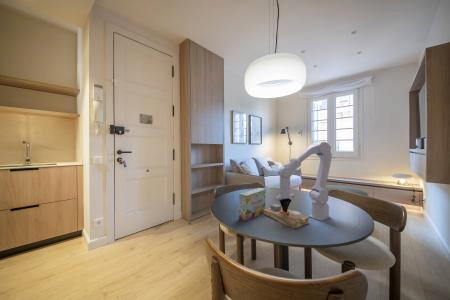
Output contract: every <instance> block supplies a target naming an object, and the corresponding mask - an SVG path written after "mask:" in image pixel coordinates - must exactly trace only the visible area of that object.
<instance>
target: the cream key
mask: <svg viewBox="0 0 450 300" xmlns="http://www.w3.org/2000/svg"><path fill="white" fill-rule="evenodd" d="M301 215H302V212H299V211H297V210H292V212H289V217H290V218H292V219H294V220H298V219H301Z"/></svg>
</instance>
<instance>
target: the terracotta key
mask: <svg viewBox="0 0 450 300" xmlns="http://www.w3.org/2000/svg"><path fill="white" fill-rule="evenodd" d="M289 212H290V211H287V212H284V211H283V210H281V211H279V213H280V214H283V215H285V216H286V215H289Z"/></svg>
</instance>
